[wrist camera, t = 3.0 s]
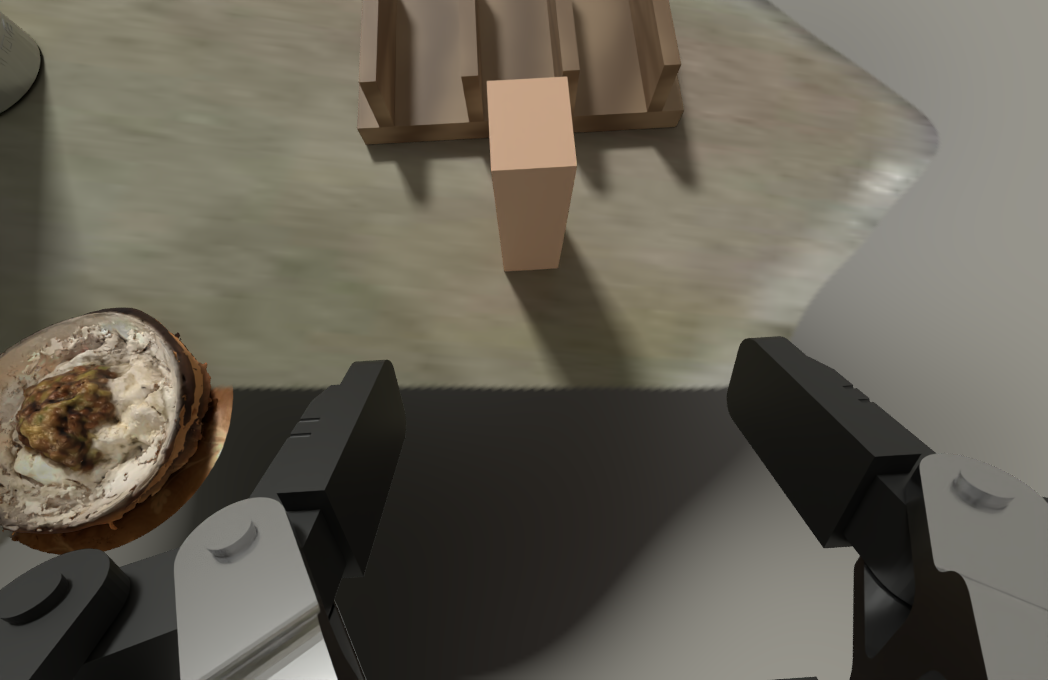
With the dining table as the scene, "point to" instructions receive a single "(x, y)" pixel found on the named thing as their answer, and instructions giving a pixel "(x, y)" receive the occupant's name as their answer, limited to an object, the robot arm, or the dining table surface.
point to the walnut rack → (513, 63)
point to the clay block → (531, 168)
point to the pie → (103, 431)
